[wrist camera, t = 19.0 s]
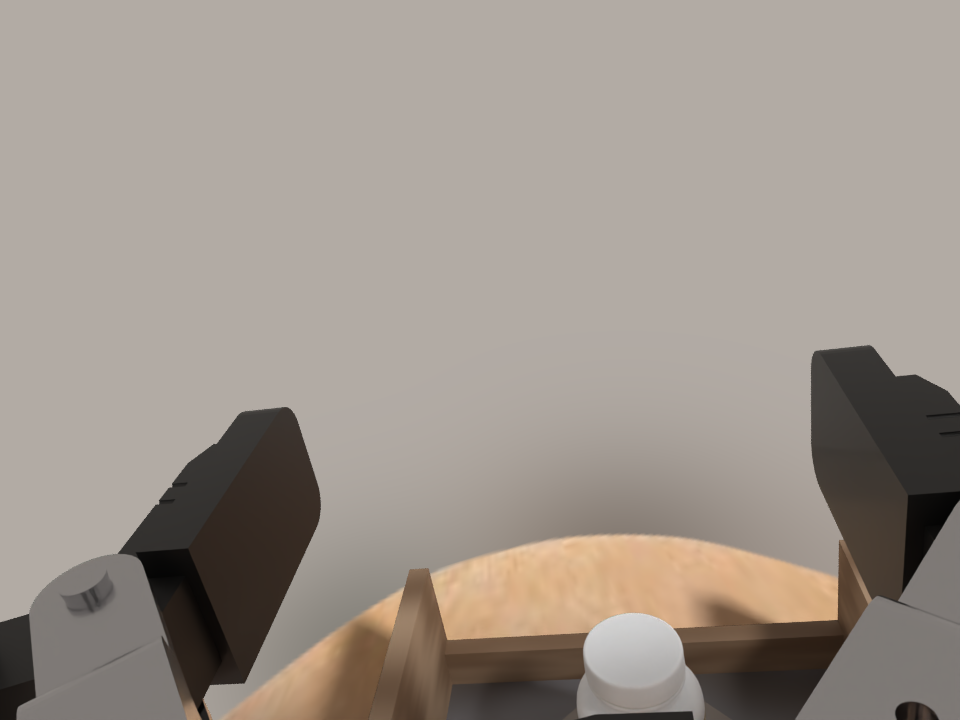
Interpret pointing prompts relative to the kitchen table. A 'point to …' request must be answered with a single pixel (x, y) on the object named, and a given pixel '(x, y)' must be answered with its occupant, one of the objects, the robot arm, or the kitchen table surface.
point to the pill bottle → (636, 669)
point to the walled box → (560, 667)
